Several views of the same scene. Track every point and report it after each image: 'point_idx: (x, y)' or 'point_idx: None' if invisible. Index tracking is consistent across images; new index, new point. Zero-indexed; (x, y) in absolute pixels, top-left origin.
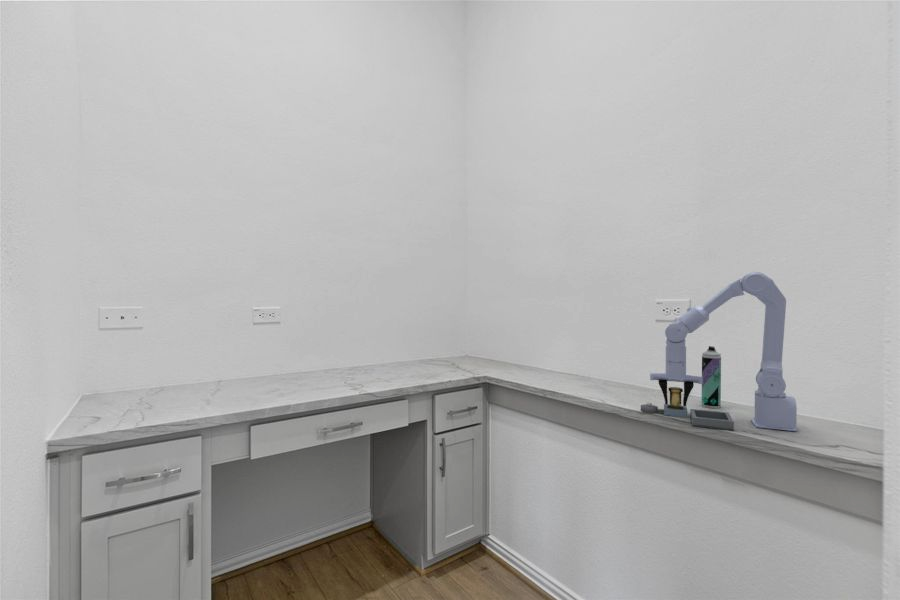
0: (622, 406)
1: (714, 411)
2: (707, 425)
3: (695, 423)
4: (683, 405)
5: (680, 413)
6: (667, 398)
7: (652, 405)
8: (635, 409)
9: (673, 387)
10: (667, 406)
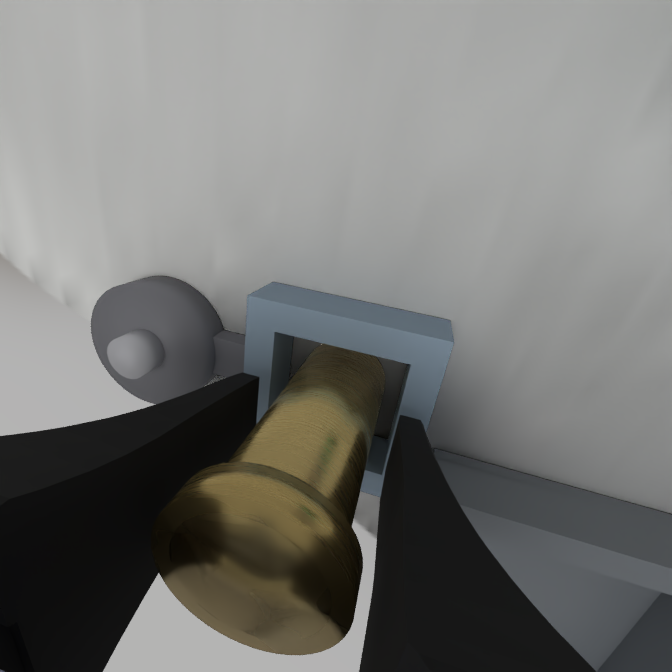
0: (3, 234)
1: (643, 573)
2: None
3: None
4: (388, 459)
5: None
6: (236, 390)
7: (165, 311)
8: (90, 303)
9: (220, 521)
10: (268, 383)
